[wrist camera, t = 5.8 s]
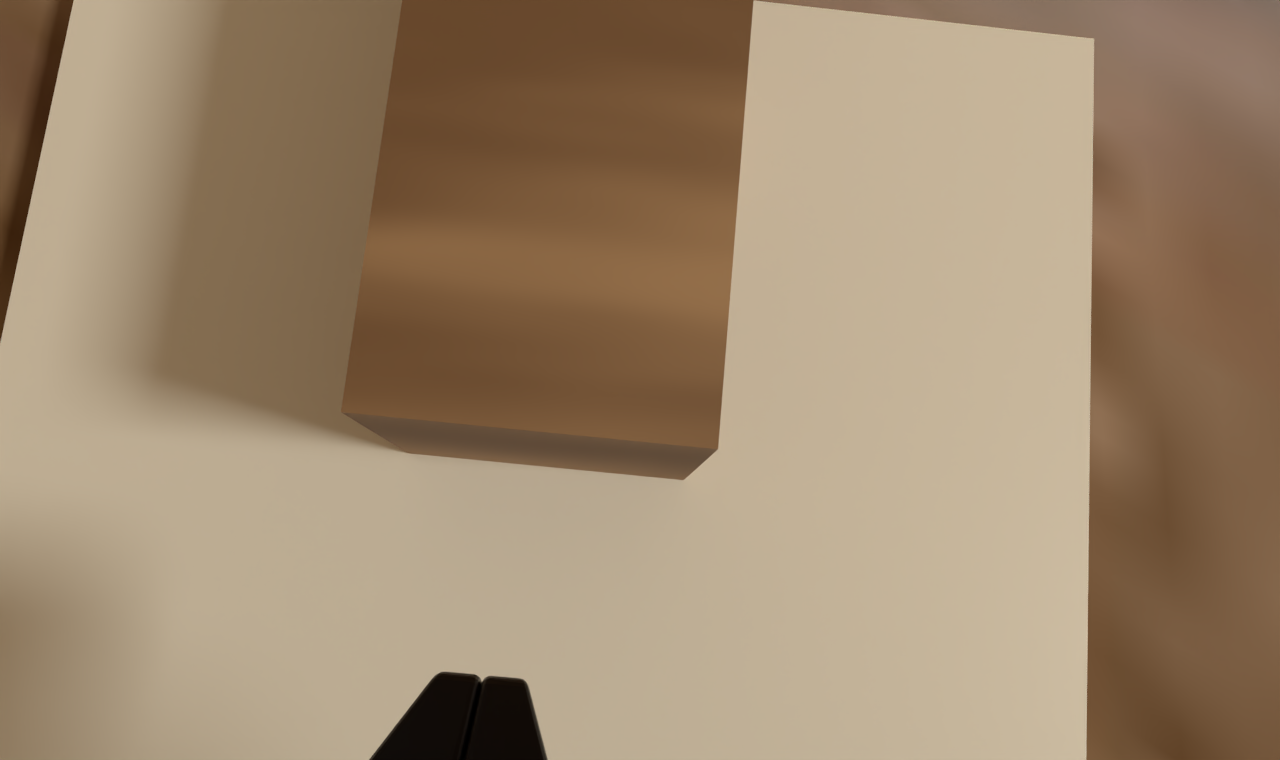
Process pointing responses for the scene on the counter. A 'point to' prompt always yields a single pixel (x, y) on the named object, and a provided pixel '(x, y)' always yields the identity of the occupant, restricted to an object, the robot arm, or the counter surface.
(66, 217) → the cutting board
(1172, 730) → the counter surface
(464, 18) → the walnut block
